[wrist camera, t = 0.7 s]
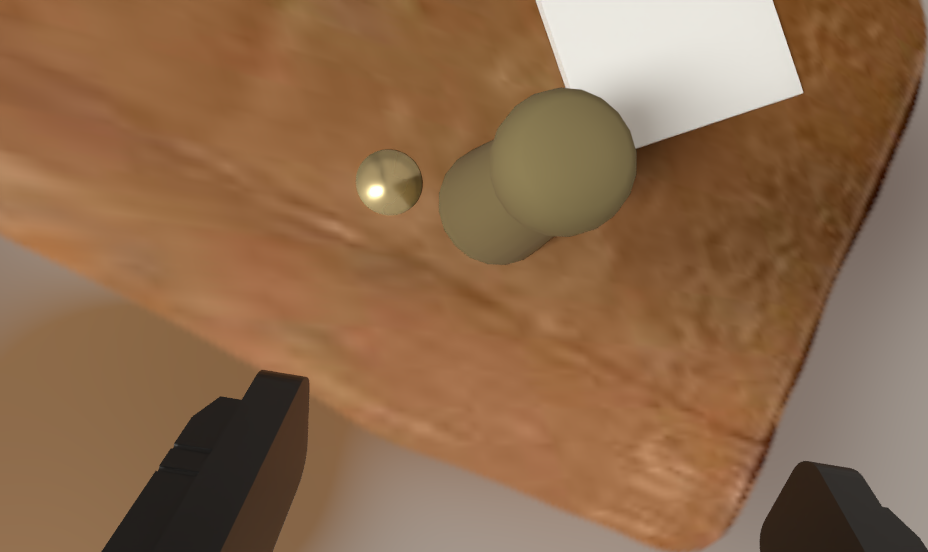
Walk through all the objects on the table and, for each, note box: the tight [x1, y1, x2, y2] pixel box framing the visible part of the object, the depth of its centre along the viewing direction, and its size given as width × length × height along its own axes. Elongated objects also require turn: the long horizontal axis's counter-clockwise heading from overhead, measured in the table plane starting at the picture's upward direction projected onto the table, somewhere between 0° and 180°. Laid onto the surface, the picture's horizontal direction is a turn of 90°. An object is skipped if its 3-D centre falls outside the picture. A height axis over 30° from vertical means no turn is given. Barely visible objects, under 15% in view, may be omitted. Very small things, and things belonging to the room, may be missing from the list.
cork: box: [439, 88, 637, 265], centre depth 26 cm, size 6×6×11 cm
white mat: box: [536, 0, 803, 149], centre depth 33 cm, size 13×13×1 cm
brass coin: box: [356, 150, 422, 215], centre depth 30 cm, size 3×3×1 cm
